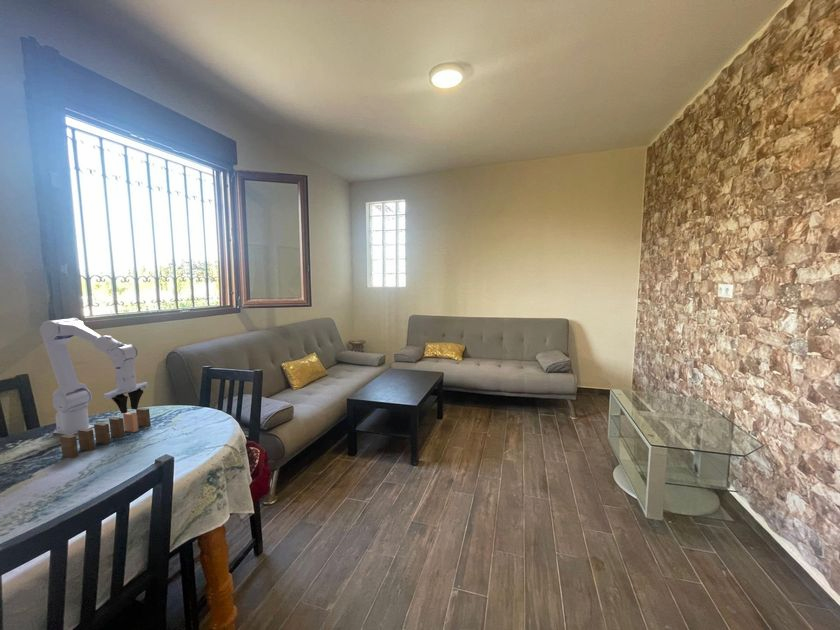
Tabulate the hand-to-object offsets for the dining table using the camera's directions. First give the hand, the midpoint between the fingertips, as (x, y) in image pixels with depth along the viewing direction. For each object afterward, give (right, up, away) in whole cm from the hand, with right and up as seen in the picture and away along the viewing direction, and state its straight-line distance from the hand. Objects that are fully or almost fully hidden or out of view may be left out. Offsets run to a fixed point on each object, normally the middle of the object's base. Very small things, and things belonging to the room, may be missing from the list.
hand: (129, 410), depth 130 cm
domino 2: (-3, -10, -13) cm, 17 cm away
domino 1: (-4, -10, -18) cm, 21 cm away
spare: (0, -8, +1) cm, 8 cm away
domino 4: (-1, -9, -4) cm, 9 cm away
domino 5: (+1, -8, +6) cm, 9 cm away
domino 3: (-2, -9, -8) cm, 13 cm away
